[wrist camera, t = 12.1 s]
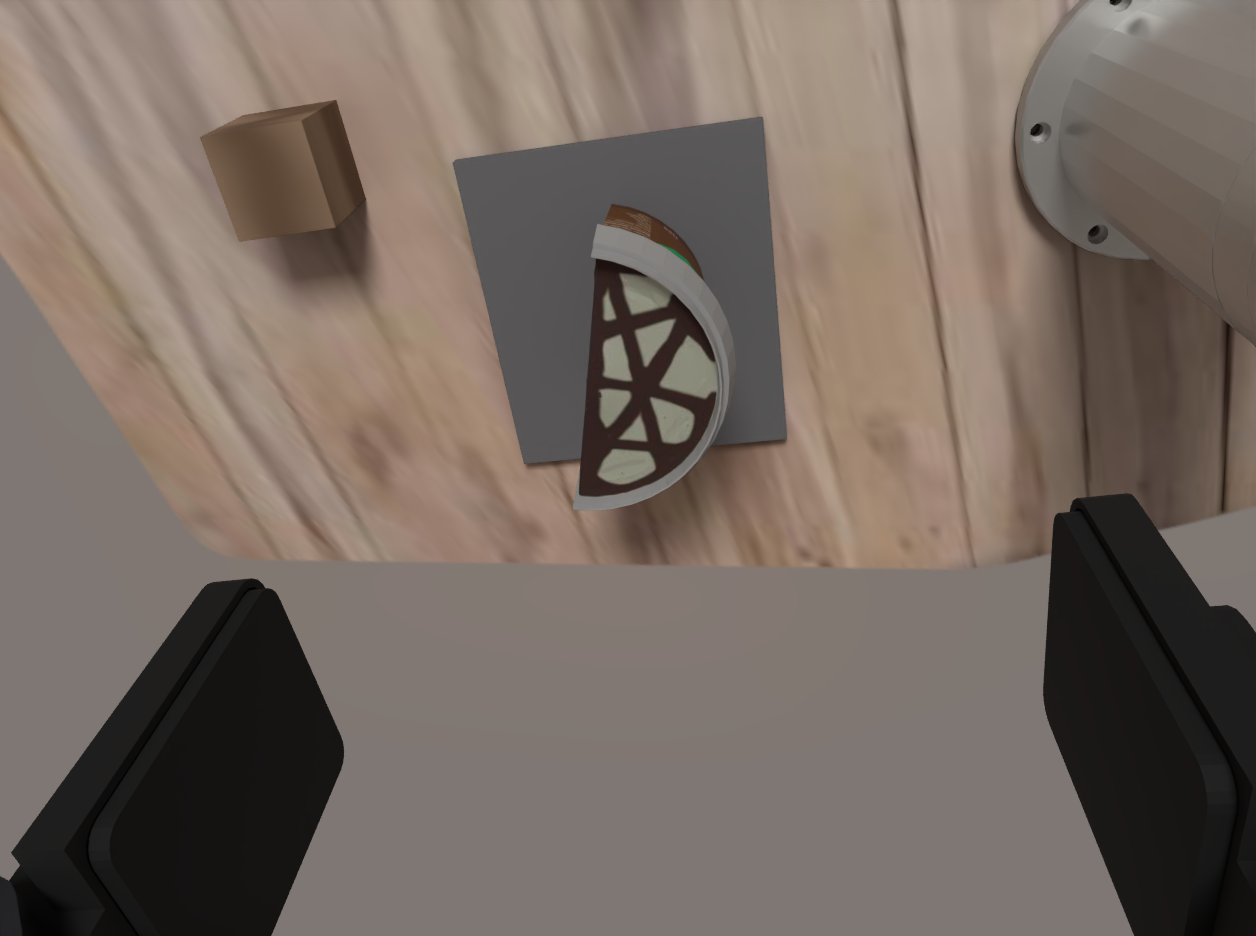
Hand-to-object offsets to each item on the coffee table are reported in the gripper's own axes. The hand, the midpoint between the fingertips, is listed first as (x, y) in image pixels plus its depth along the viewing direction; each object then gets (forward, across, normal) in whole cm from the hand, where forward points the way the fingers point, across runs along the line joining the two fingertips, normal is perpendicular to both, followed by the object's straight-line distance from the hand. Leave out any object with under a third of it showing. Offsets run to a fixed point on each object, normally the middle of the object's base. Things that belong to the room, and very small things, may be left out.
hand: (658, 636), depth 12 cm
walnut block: (+36, +18, 0) cm, 40 cm away
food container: (+35, +3, +9) cm, 37 cm away
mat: (+36, +4, +9) cm, 37 cm away
